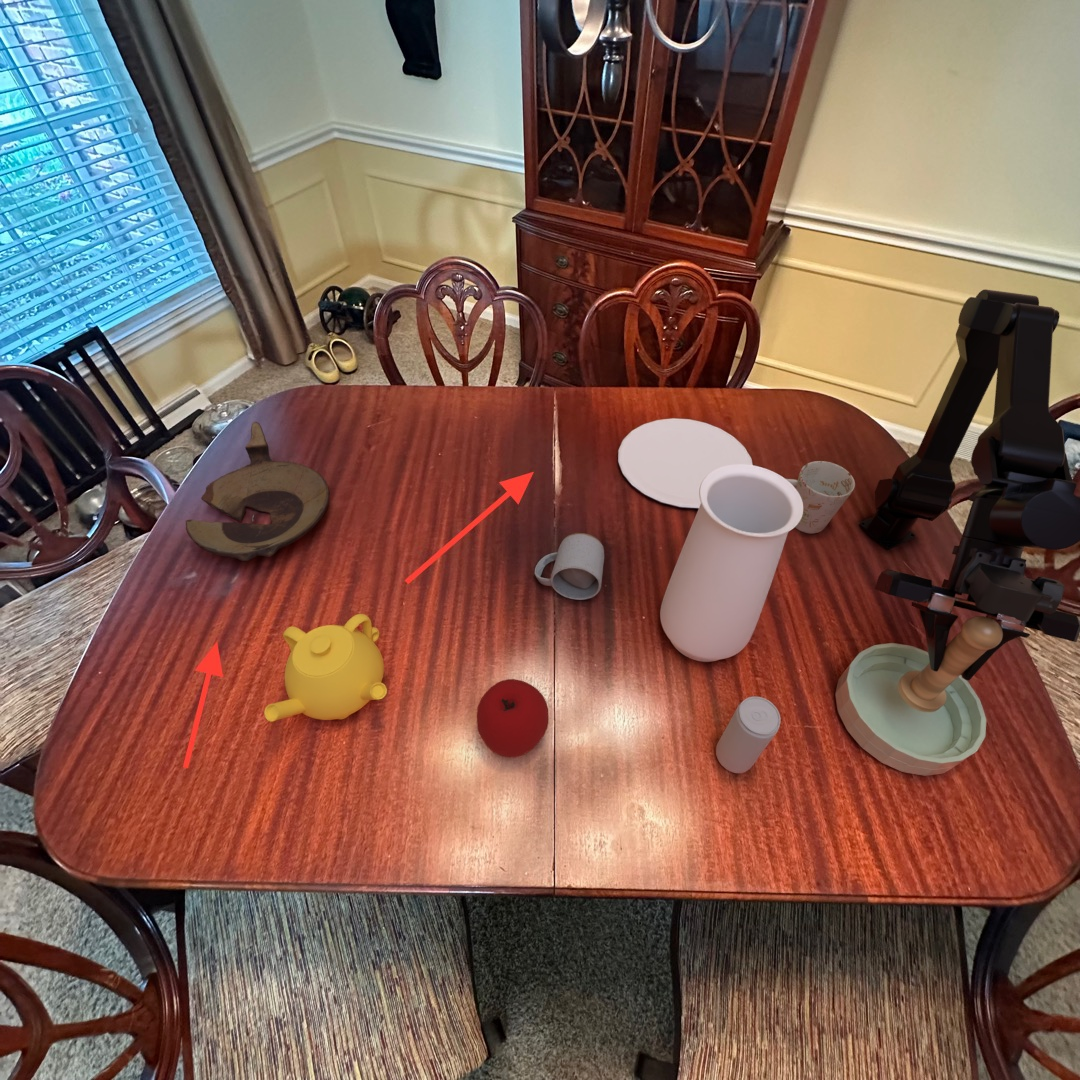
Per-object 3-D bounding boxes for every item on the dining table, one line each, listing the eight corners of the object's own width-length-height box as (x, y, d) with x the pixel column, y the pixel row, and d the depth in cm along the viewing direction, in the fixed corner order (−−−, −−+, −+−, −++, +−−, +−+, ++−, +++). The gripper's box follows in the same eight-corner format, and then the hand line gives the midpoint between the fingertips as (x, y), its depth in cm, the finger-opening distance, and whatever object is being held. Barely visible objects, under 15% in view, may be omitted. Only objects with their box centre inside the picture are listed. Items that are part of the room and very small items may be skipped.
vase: (693, 687, 83) (745, 558, 62) (639, 618, 90) (669, 481, 69) (764, 647, 87) (836, 514, 66) (707, 584, 94) (755, 446, 73)
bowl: (894, 645, 87) (910, 626, 83) (992, 744, 77) (1016, 727, 74) (807, 689, 82) (820, 671, 79) (900, 800, 73) (920, 785, 69)
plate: (733, 421, 121) (735, 416, 120) (768, 510, 105) (771, 505, 104) (610, 423, 121) (610, 418, 120) (626, 513, 104) (627, 508, 103)
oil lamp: (172, 575, 96) (148, 543, 90) (246, 451, 115) (231, 419, 110) (309, 583, 95) (294, 552, 89) (360, 457, 114) (351, 425, 108)
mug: (834, 542, 100) (858, 499, 92) (757, 531, 102) (774, 488, 94) (829, 507, 105) (851, 464, 98) (755, 497, 107) (771, 454, 99)
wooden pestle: (905, 666, 78) (971, 595, 66) (947, 690, 75) (1024, 621, 63) (891, 695, 75) (957, 626, 63) (934, 720, 73) (1012, 654, 61)
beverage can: (710, 739, 78) (732, 696, 69) (746, 736, 78) (773, 693, 69) (720, 776, 75) (745, 737, 66) (758, 773, 75) (788, 733, 66)
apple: (542, 772, 75) (542, 740, 68) (471, 761, 76) (464, 727, 69) (553, 704, 81) (554, 667, 74) (487, 694, 82) (482, 657, 75)
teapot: (285, 748, 77) (254, 710, 69) (289, 657, 86) (262, 613, 77) (398, 724, 79) (382, 684, 71) (391, 638, 88) (376, 593, 80)
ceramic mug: (604, 562, 97) (607, 530, 91) (599, 603, 92) (602, 572, 86) (539, 555, 98) (538, 523, 93) (531, 595, 93) (529, 563, 87)
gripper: (929, 524, 62) (884, 668, 63) (1140, 572, 58) (1087, 724, 59) (893, 522, 72) (856, 645, 74) (1069, 563, 68) (1025, 692, 70)
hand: (949, 674), depth 69 cm, fingers closed on wooden pestle, 3 cm apart
